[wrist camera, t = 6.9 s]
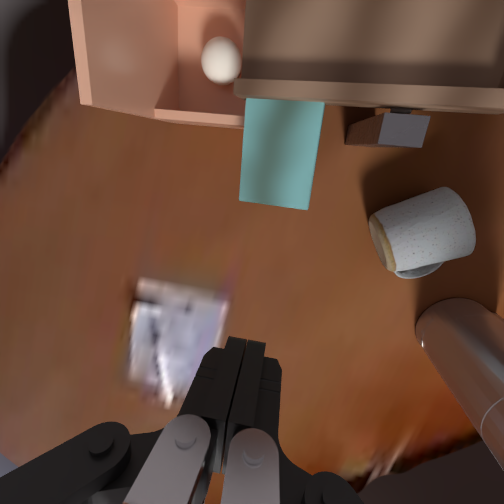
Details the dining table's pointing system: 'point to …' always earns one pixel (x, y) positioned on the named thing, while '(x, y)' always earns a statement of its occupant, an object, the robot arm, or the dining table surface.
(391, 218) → the ceramic mug
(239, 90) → the lever board
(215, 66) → the ball
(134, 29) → the cup
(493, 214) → the dining table surface
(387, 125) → the pivot stand
